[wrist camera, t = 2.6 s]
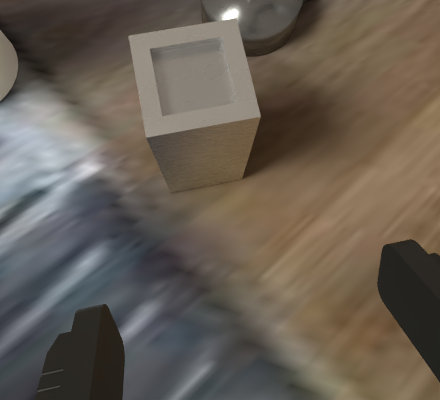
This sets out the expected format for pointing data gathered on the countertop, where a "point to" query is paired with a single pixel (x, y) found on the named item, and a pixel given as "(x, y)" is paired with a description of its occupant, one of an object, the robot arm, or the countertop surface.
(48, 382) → the robot arm
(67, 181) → the countertop surface
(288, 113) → the countertop surface
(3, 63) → the cylindrical container
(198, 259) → the countertop surface
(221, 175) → the socket
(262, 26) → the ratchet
